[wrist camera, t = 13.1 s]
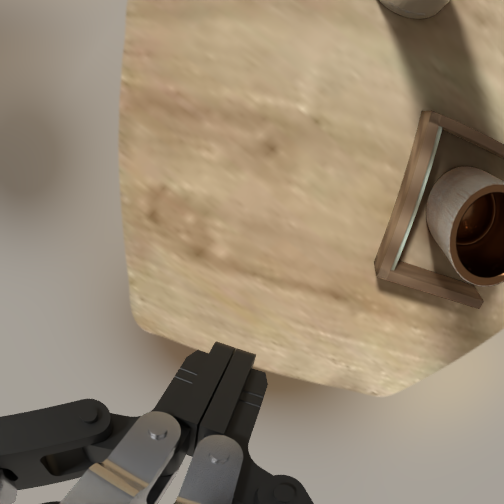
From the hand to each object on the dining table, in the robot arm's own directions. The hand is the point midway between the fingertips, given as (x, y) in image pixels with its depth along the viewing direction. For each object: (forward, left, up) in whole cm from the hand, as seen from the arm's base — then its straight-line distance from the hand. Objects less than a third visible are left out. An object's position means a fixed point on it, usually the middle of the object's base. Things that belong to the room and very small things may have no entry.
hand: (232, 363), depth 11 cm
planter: (-4, +19, -29) cm, 35 cm away
